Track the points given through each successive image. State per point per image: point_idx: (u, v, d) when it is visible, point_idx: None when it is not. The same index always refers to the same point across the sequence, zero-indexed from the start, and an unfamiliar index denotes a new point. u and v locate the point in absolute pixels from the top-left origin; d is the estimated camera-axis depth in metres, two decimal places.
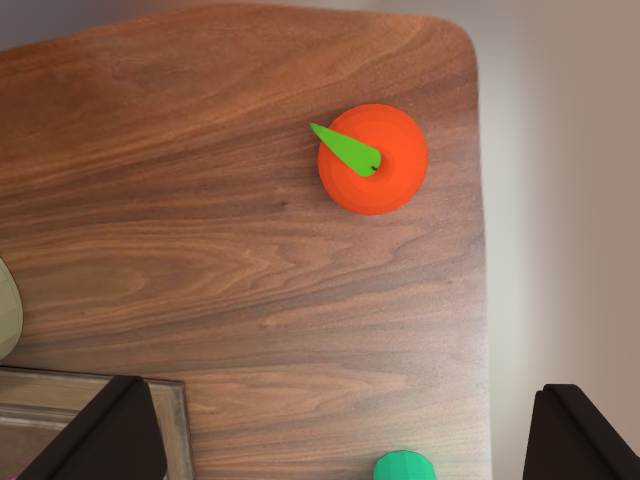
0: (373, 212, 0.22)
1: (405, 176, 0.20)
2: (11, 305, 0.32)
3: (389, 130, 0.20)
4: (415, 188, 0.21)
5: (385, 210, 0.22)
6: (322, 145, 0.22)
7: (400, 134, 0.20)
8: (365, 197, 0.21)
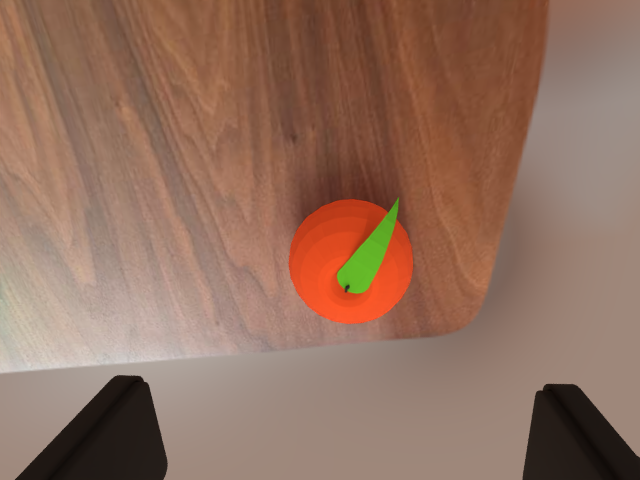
0: (293, 274, 0.19)
1: (336, 314, 0.18)
2: None
3: (387, 297, 0.18)
4: (322, 316, 0.19)
5: (296, 286, 0.19)
6: (371, 213, 0.18)
7: (382, 306, 0.18)
8: (311, 273, 0.17)
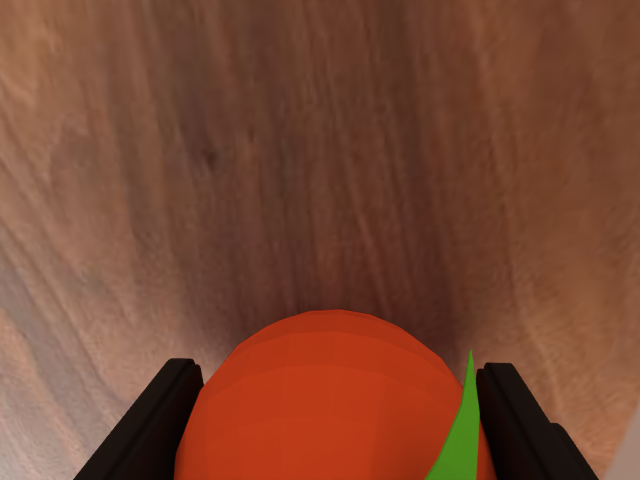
0: None
1: None
2: None
3: None
4: None
5: None
6: (388, 393, 0.06)
7: None
8: None
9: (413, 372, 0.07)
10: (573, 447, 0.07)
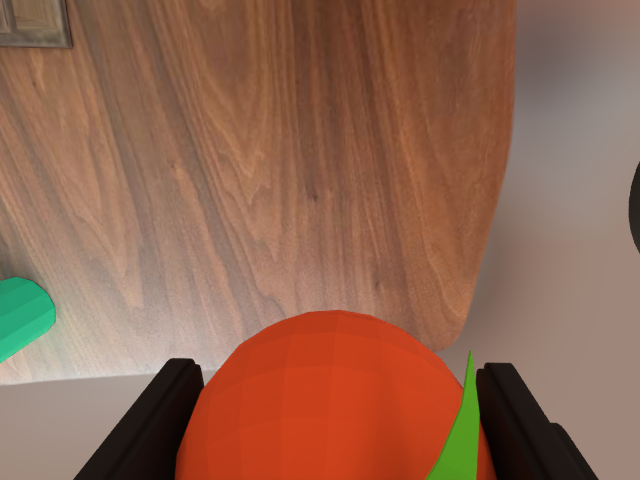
0: None
1: None
2: None
3: None
4: None
5: None
6: (388, 394, 0.06)
7: None
8: None
9: (413, 373, 0.07)
10: (573, 447, 0.07)
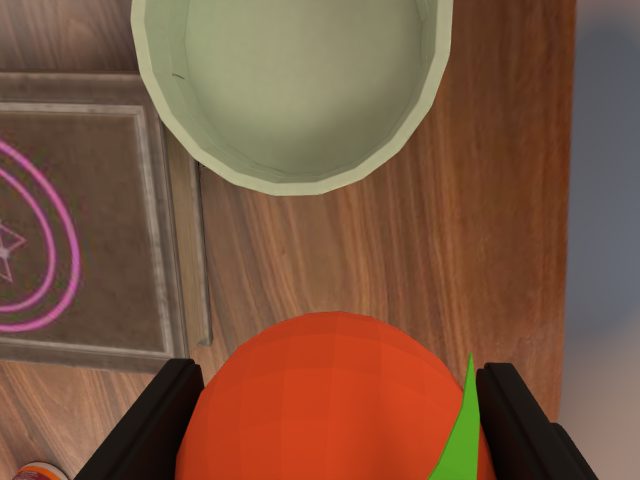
0: None
1: None
2: None
3: None
4: None
5: None
6: (388, 396, 0.06)
7: None
8: None
9: (413, 375, 0.07)
10: (573, 447, 0.07)
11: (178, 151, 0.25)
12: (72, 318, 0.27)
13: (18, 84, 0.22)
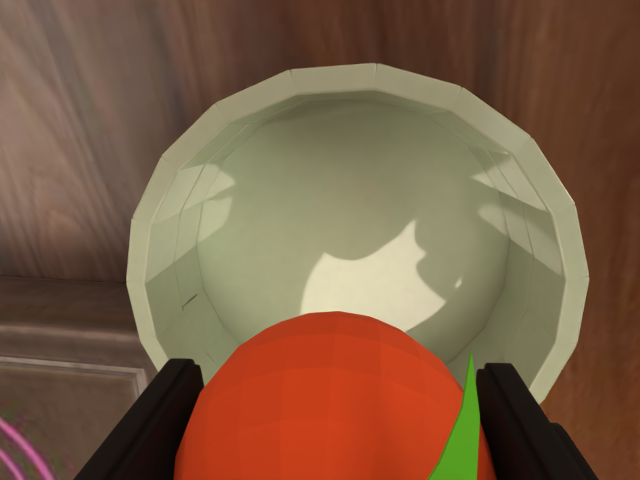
0: None
1: None
2: None
3: None
4: None
5: None
6: (388, 395, 0.06)
7: None
8: None
9: (413, 374, 0.07)
10: (573, 447, 0.07)
11: None
12: None
13: None
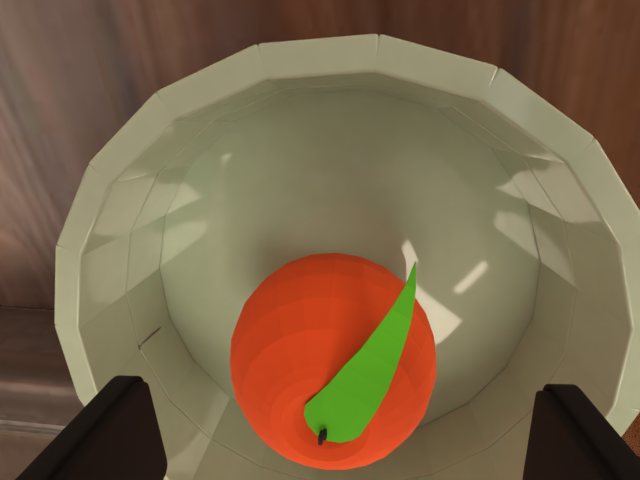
0: (234, 387, 0.11)
1: (306, 464, 0.10)
2: None
3: (395, 440, 0.10)
4: None
5: (239, 405, 0.11)
6: (366, 288, 0.10)
7: (386, 452, 0.10)
8: (259, 402, 0.10)
9: (383, 281, 0.11)
10: None
11: None
12: None
13: None
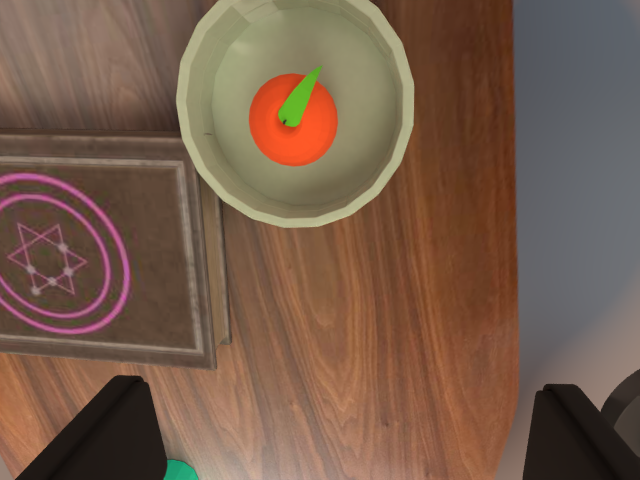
0: (251, 123, 0.27)
1: (280, 147, 0.26)
2: None
3: (314, 133, 0.26)
4: (272, 157, 0.27)
5: (253, 134, 0.27)
6: (304, 77, 0.26)
7: (311, 141, 0.26)
8: (261, 115, 0.25)
9: None
10: None
11: (206, 190, 0.32)
12: (122, 322, 0.34)
13: (87, 145, 0.29)
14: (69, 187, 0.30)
